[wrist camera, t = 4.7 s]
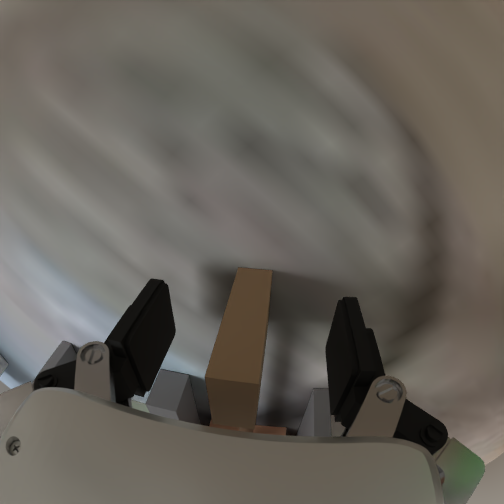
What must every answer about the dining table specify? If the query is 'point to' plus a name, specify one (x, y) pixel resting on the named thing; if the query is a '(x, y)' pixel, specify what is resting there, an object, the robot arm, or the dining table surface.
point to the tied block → (241, 355)
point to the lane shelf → (183, 403)
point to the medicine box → (2, 365)
